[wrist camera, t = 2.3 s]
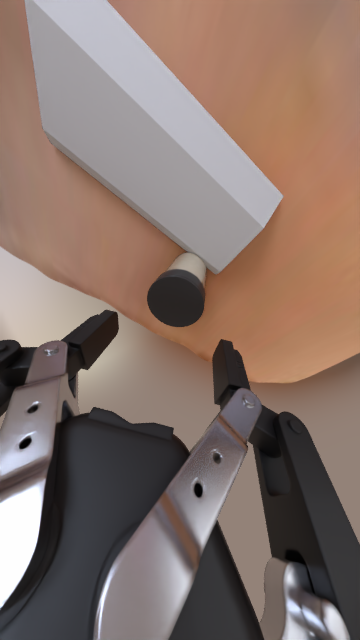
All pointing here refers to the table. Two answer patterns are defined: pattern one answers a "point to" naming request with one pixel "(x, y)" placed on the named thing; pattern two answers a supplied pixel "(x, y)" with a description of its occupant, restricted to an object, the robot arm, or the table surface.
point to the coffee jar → (190, 265)
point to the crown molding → (143, 131)
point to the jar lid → (177, 298)
